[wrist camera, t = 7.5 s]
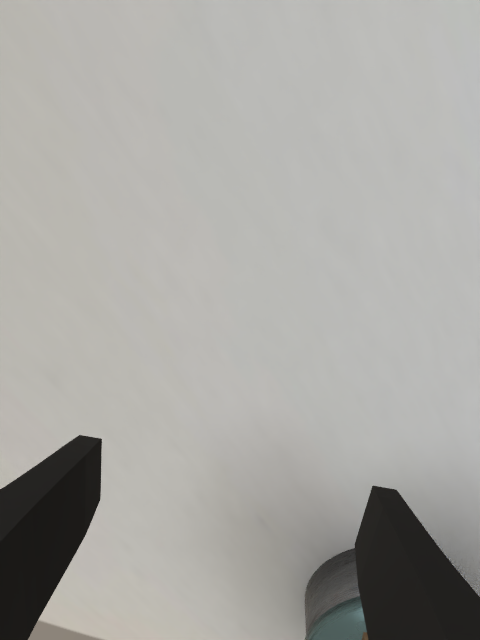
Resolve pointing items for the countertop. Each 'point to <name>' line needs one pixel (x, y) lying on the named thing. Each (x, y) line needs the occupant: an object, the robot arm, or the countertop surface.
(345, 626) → the grey tin
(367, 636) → the walnut cube
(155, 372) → the countertop surface
